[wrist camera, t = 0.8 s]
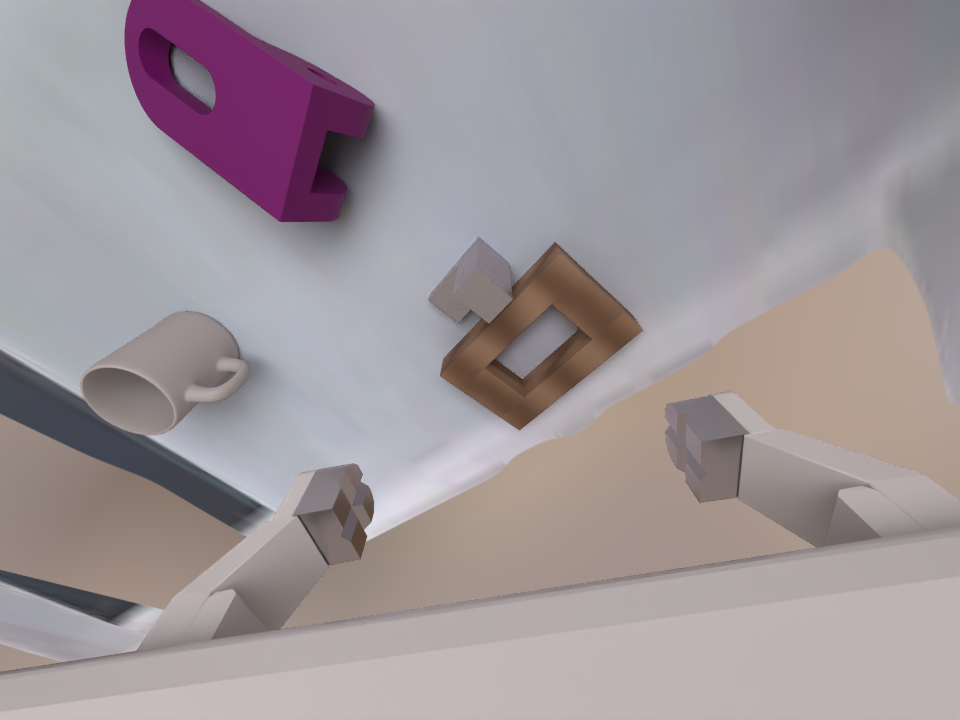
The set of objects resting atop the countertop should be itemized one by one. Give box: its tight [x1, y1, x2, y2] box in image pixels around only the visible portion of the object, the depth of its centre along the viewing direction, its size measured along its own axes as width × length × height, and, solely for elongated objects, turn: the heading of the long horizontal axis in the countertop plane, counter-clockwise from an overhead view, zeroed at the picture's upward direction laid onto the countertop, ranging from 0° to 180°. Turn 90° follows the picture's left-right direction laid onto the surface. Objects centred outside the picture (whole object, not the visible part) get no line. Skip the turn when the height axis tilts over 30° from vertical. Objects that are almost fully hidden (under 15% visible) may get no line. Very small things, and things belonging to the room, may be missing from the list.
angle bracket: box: [428, 237, 513, 323], centre depth 37 cm, size 8×4×9 cm, turn 140°
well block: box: [440, 243, 643, 430], centre depth 43 cm, size 18×12×4 cm, turn 139°
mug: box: [80, 311, 250, 435], centre depth 41 cm, size 12×8×11 cm
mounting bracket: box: [125, 0, 375, 222], centre depth 32 cm, size 10×8×18 cm
